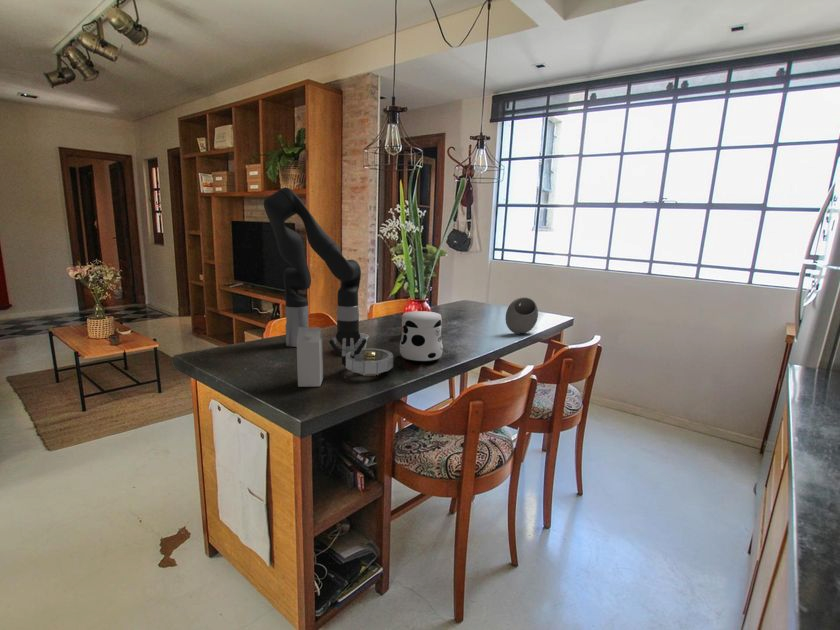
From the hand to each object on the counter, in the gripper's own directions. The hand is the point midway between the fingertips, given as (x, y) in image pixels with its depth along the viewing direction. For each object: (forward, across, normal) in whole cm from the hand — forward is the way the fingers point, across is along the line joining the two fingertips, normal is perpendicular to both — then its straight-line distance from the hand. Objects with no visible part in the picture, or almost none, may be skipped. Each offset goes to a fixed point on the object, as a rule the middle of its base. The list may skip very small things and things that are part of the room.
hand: (348, 365), depth 152 cm
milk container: (+3, +29, +14) cm, 32 cm away
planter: (+3, +86, +51) cm, 100 cm away
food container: (+3, +3, +27) cm, 27 cm away
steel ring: (0, +8, 0) cm, 8 cm away
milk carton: (+3, -12, -9) cm, 15 cm away
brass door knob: (+3, +8, 0) cm, 8 cm away
